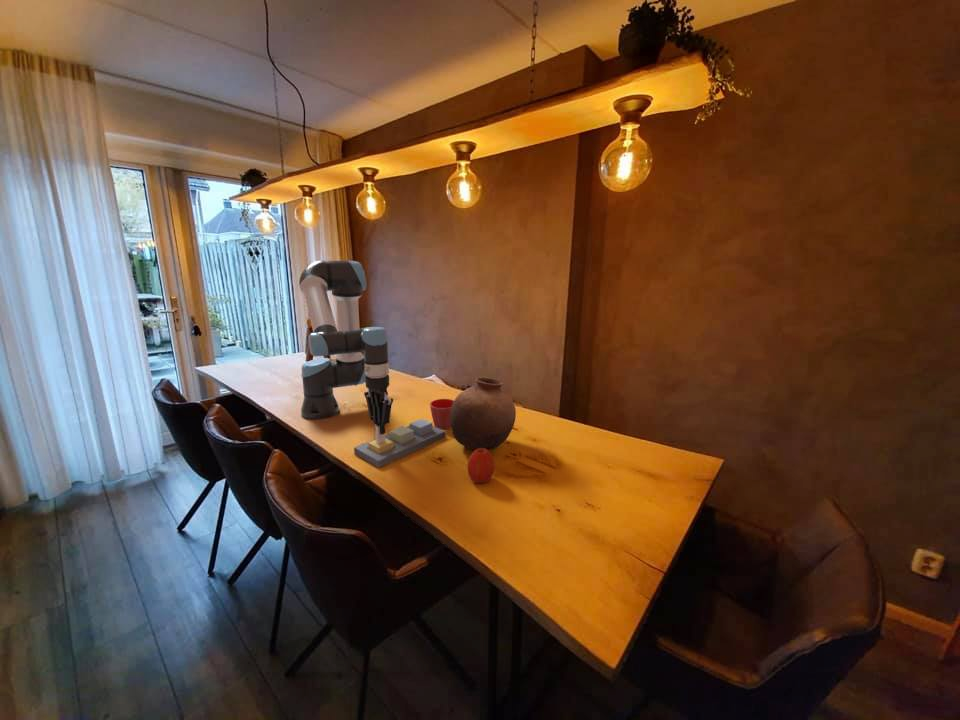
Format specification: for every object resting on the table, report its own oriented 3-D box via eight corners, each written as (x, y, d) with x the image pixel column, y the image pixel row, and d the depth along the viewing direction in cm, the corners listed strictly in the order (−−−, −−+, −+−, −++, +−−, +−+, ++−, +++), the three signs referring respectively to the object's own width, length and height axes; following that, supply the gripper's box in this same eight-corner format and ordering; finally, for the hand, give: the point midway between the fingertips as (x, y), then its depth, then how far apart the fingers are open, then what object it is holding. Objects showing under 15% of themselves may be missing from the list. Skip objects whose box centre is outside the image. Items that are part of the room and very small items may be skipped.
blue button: (409, 432, 143) (409, 423, 142) (421, 427, 147) (421, 418, 146) (420, 436, 139) (420, 427, 138) (432, 431, 143) (432, 422, 142)
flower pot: (453, 432, 148) (453, 409, 145) (426, 429, 150) (426, 406, 147) (460, 421, 158) (460, 399, 155) (435, 419, 160) (434, 397, 158)
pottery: (440, 454, 130) (439, 385, 124) (465, 428, 152) (466, 368, 145) (504, 467, 123) (506, 393, 117) (521, 437, 144) (524, 374, 138)
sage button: (390, 440, 136) (389, 431, 135) (403, 434, 140) (403, 425, 140) (400, 445, 132) (400, 435, 131) (414, 439, 137) (413, 430, 136)
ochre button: (368, 452, 129) (368, 442, 129) (383, 445, 134) (382, 436, 133) (379, 457, 126) (378, 448, 125) (393, 451, 130) (393, 441, 129)
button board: (354, 453, 130) (353, 447, 129) (420, 426, 152) (420, 421, 152) (378, 467, 121) (378, 460, 121) (445, 437, 144) (445, 431, 143)
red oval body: (485, 491, 110) (485, 457, 107) (461, 482, 114) (461, 449, 111) (499, 478, 116) (499, 446, 114) (476, 470, 121) (476, 439, 118)
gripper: (355, 373, 124) (360, 439, 130) (379, 381, 116) (383, 451, 122) (375, 369, 130) (378, 432, 136) (399, 376, 122) (401, 443, 128)
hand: (380, 441), depth 129 cm, fingers closed
